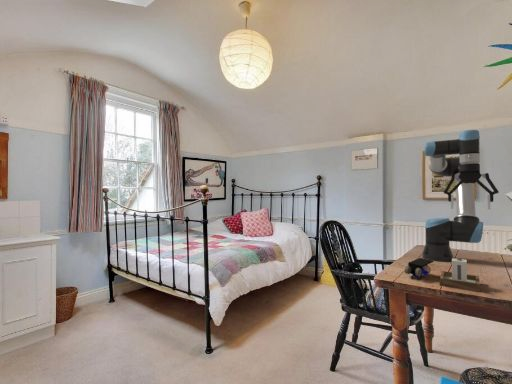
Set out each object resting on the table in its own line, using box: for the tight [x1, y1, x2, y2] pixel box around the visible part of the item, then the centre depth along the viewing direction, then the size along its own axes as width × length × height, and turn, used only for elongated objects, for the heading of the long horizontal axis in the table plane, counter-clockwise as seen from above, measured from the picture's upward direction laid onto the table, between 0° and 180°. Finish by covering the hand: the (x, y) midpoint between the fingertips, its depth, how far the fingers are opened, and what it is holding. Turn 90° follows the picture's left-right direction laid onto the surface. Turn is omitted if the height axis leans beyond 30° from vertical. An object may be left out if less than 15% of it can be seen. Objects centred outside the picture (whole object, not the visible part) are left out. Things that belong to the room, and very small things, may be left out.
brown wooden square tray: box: [439, 270, 481, 293], centre depth 116 cm, size 13×13×3 cm
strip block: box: [451, 257, 468, 282], centre depth 116 cm, size 5×5×10 cm
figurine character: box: [404, 257, 434, 281], centre depth 127 cm, size 7×8×15 cm
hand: (470, 208), depth 129 cm, fingers open, 13 cm apart
